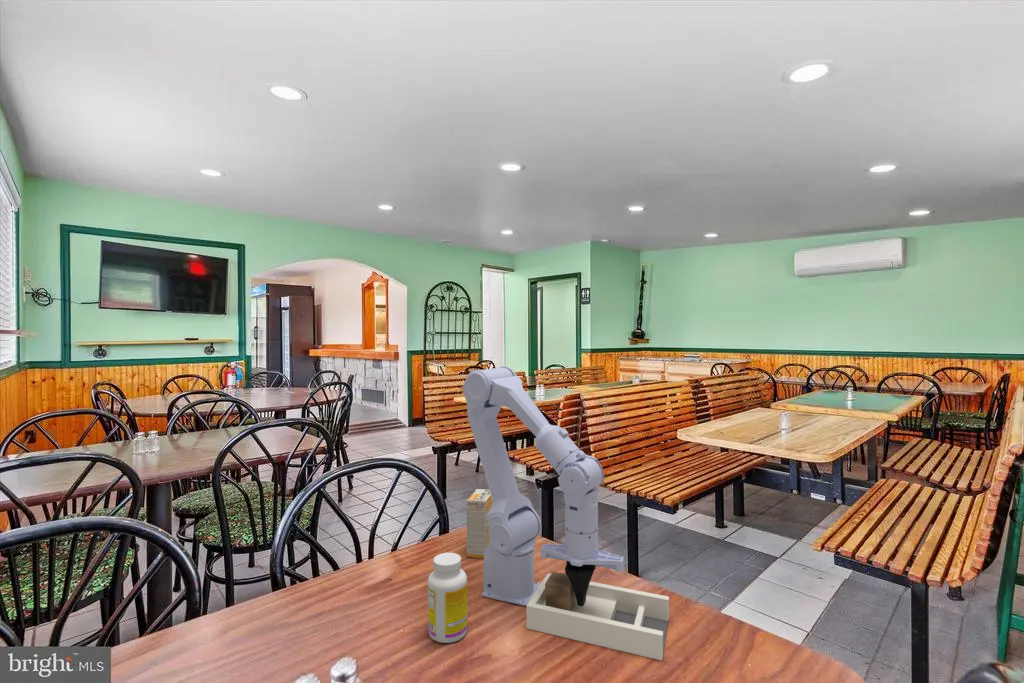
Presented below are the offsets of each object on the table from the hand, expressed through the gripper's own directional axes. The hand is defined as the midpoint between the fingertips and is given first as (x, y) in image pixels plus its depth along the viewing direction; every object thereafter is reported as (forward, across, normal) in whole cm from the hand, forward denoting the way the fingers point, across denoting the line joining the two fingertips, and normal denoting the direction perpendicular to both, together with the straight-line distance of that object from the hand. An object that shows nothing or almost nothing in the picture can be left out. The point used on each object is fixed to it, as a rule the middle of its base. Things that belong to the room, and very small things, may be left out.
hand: (581, 603), depth 90 cm
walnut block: (+1, -4, 0) cm, 4 cm away
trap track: (+3, +3, 0) cm, 4 cm away
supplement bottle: (+3, -20, -12) cm, 24 cm away
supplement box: (+3, -28, +18) cm, 34 cm away
